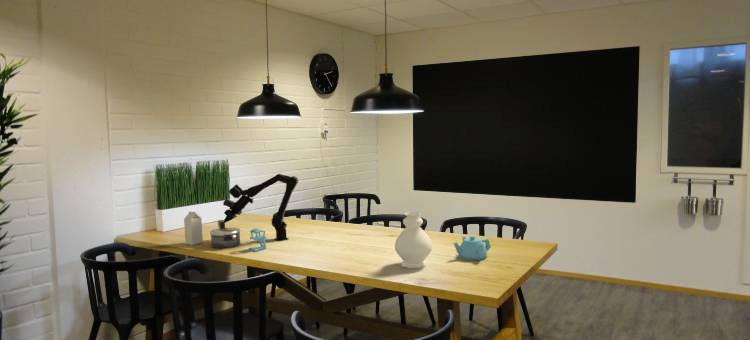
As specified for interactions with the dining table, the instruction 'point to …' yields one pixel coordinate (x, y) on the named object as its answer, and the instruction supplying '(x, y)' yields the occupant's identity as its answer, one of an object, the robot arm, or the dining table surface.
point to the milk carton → (193, 229)
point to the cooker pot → (225, 241)
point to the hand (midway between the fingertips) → (223, 222)
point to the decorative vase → (413, 242)
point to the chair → (259, 238)
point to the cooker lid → (224, 230)
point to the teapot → (473, 248)
